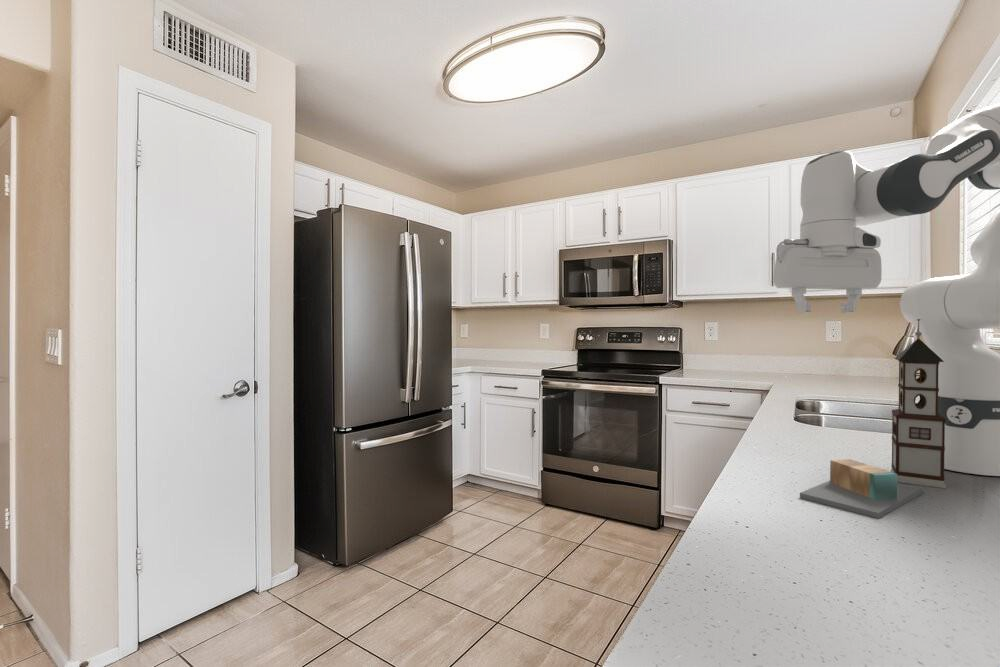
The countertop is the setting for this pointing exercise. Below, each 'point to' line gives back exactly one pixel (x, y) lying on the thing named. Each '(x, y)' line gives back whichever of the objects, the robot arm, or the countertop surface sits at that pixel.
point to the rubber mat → (859, 498)
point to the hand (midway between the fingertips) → (826, 312)
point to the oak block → (864, 479)
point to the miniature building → (918, 419)
